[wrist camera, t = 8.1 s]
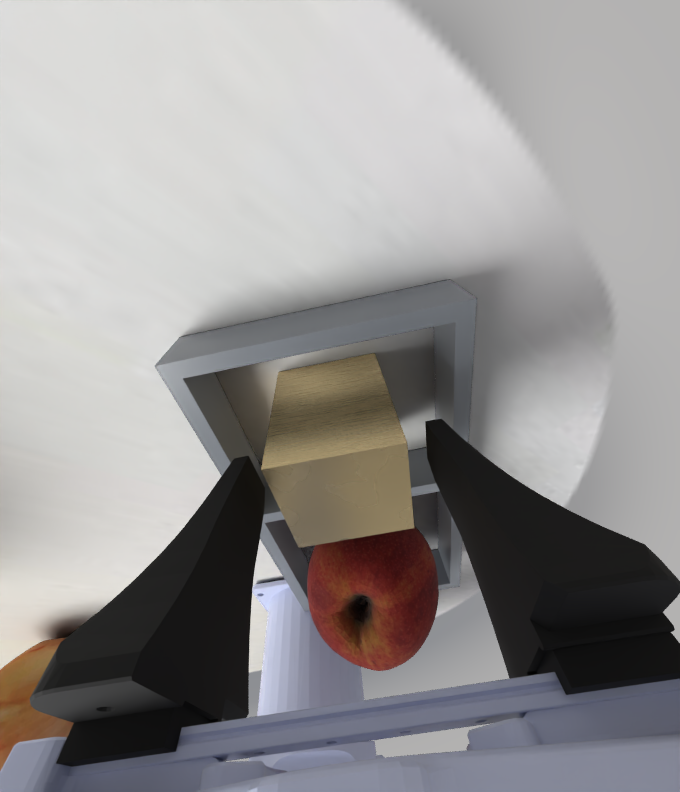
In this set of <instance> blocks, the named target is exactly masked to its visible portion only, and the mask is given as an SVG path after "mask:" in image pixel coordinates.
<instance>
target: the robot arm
mask: <svg viewBox="0 0 680 792" xmlns="http://www.w3.org/2000/svg"><path fill="white" fill-rule="evenodd" d="M426 443H427V459H428V462H429V465H430V468H431V471H432V474H433V477H434V480H435V482H436V484H437V486H438V488H439V491H440V493H441V495H442V497H443V499H444V501H445V503H446V505H447V507H448V510H449V512H450V514H451V516H452V518H453V520H454V522H455V524H456V526H457V528H458V531H459V533H460V535H461V537H462V540H463V542H464V545H465V547H466V550H467V553H468V556H469V558H470V561H471V564H472V566H473V569H474V572H475V575H476V578H477V581H478V583H479V586H480V589H481V592H482V595H483V598H484V601H485V604H486V606H487V609H488V613H489V616H490V618H491V621H492V624H493V627H494V630H495V634H496V637H497V640H498V643H499V646H500V649H501V652H502V655H503V658H504V662H505V665H506V668H507V671H508V675H509V678H510V679H505V680H497V681H491V682H484V683H477V684H471V685H464V686H457V687H451V688H444V689H437V690H430V691H423V692H417V693H411V694H403V695H397V696H390V697H384V698H376V699H370V700H364V693H363V683H362V673H361V666H358V665H355V664H353V663H351V662H349V661H347V660H346V659H344V658H343V657H341V656H340V655H338V654H337V653H336V652H334V651H333V650H332V649H331V648H330V647H329V646H328V645H327V644H326V642H325V641H324V640H323V639H322V637H321V636H320V634H319V632H318V630H317V629H316V626H315V624H314V622H313V620H312V617H311V613H310V611H304V610H303V608H302V606H301V605H300V603H299V601H298V600H297V598H296V597H295V595H294V593H293V592H292V590H291V588H290V587H289V585H288V583H287V582H286V580H279V581H273V582H267V583H261V584H256V585H254V586H253V576H254V568H255V562H256V557H257V551H258V545H259V540H260V534H261V528H262V522H263V516H264V505H265V487H264V485H263V483H262V481H261V479H260V477H259V475H258V473H257V471H256V469H255V467H254V465H253V463H252V461H251V459H250V457H249V456H244V457H239V458H234V459H233V461H232V462H231V463H230V465H229V466H228V468H227V469H226V471H225V472H224V474H223V475H222V476H221V478H220V479H219V481H218V482H217V484H216V485H215V487H214V488H213V490H212V491H211V492H210V494H209V495H208V497H207V498H206V499H205V501H204V502H203V504H202V505H201V506H200V507H199V509H198V510H197V511H196V513H195V514H194V515H193V516H192V518H191V519H190V520H189V522H188V523H187V524H186V525H185V527H184V528H183V529H182V530H181V532H180V533H179V534H178V535H177V536H176V537H175V539H174V540H173V541H172V542H171V543H170V544H169V545H168V546H167V547H166V549H165V550H164V551H163V552H162V553H161V554H160V555H159V556H158V557H157V558H156V559H155V560H154V561H153V562H152V563H151V564H150V565H149V566H148V567H147V568H146V569H145V570H144V571H143V572H142V573H141V574H140V575H139V576H138V577H137V578H136V579H135V580H134V581H133V582H132V583H131V584H130V585H129V586H127V587H126V588H125V589H124V590H123V591H122V592H121V593H120V594H119V595H117V596H116V597H115V598H114V599H113V600H112V601H111V602H110V603H108V604H107V605H106V606H105V607H104V608H103V609H101V610H100V611H99V612H98V613H97V614H95V615H94V616H93V617H92V618H90V619H89V620H88V621H87V622H86V623H84V624H83V625H82V626H81V627H79V628H78V629H77V630H76V631H74V632H73V633H72V634H71V635H69V636H68V637H67V638H66V639H64V640H63V641H62V642H60V644H59V646H58V648H57V650H56V651H55V653H54V655H53V657H52V659H51V660H50V662H49V664H48V666H47V668H46V669H45V671H44V673H43V675H42V677H41V679H40V680H39V682H38V684H37V686H36V688H35V689H34V691H33V693H32V695H31V697H30V704H31V707H33V708H34V709H35V710H37V711H39V712H42V713H45V714H48V715H51V716H54V717H57V718H60V719H63V720H66V721H69V722H73V723H74V724H73V726H72V728H71V730H70V733H69V735H68V737H50V738H43V739H36V740H30V741H23V742H18V743H17V744H16V745H14V747H13V748H12V750H11V752H10V754H9V756H8V758H7V760H6V762H5V763H4V765H3V767H2V769H1V771H0V792H680V643H679V642H678V641H677V640H676V638H675V637H674V636H673V634H672V633H671V632H672V631H674V626H673V625H672V623H671V622H670V621H669V619H668V618H667V617H666V616H665V615H664V613H663V611H664V610H665V609H666V608H667V607H668V606H669V605H670V604H671V603H672V602H673V600H674V599H675V598H676V597H677V596H678V594H679V593H680V581H679V580H678V579H677V578H676V576H675V575H674V574H673V573H672V572H671V571H670V570H669V569H668V568H667V566H665V564H664V563H663V562H662V561H661V560H660V559H659V558H658V557H657V556H656V555H655V554H654V553H653V552H652V551H651V550H650V549H649V548H648V547H647V546H646V545H645V544H642V543H640V542H638V541H635V540H633V539H630V538H628V537H626V536H623V535H621V534H618V533H616V532H614V531H611V530H609V529H607V528H604V527H602V526H600V525H598V524H596V523H594V522H591V521H589V520H587V519H585V518H583V517H581V516H579V515H577V514H575V513H573V512H571V511H569V510H567V509H565V508H563V507H562V506H560V505H558V504H556V503H554V502H552V501H551V500H549V499H547V498H545V497H543V496H541V495H540V494H538V493H536V492H535V491H533V490H532V489H530V488H528V487H527V486H525V485H524V484H522V483H520V482H519V481H517V480H516V479H514V478H513V477H511V476H510V475H508V474H507V473H506V472H504V471H503V470H501V469H500V468H499V467H497V466H496V465H495V464H493V463H492V462H491V461H489V460H488V459H487V458H486V457H484V456H483V455H482V454H481V453H479V452H478V451H477V450H476V449H475V448H473V447H472V446H471V445H470V444H469V443H468V442H466V441H465V440H464V439H463V438H462V437H461V436H460V435H459V434H458V433H456V432H455V431H454V430H453V429H452V428H451V427H450V426H449V425H448V424H447V423H446V422H445V421H444V420H442V419H436V420H431V421H426ZM252 586H253V589H252ZM252 592H253V594H254V595H255V596H256V598H257V599H258V600H259V602H260V603H261V604H262V605H263V607H264V608H265V609H266V611H267V612H268V619H267V629H266V638H265V648H264V657H263V667H262V676H261V686H260V695H259V705H258V714H257V716H256V717H249V718H246V717H247V715H248V713H249V711H248V710H249V709H248V676H249V634H250V616H251V600H252ZM490 723H493V724H490ZM482 724H490V725H486V726H483V727H479V728H476V729H472V730H469V732H468V739H469V742H470V744H468V746H467V751H455V752H443V753H431V754H418V755H407V756H396V757H387V758H384V757H383V756H382V755H376V749H375V742H374V741H371V740H378V739H384V738H392V737H398V736H405V735H413V734H420V733H427V732H433V731H441V730H448V729H454V728H461V727H469V726H476V725H482ZM243 758H249V761H240V762H225V761H230V760H237V759H243Z"/></svg>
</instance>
